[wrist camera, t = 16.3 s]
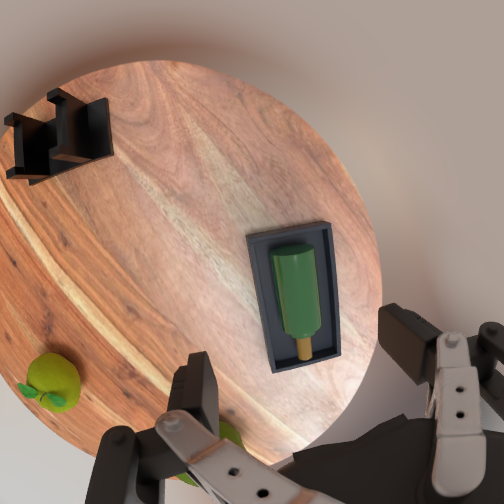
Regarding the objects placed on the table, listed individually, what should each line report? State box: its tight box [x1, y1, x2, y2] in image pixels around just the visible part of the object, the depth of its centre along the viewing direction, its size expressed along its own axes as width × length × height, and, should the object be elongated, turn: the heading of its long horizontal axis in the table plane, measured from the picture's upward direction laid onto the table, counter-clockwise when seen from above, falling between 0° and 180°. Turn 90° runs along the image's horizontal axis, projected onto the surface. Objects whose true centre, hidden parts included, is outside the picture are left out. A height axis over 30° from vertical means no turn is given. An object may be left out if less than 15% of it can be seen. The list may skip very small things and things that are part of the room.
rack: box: [4, 88, 114, 186], centre depth 25 cm, size 14×8×9 cm, turn 100°
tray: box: [246, 221, 341, 374], centre depth 36 cm, size 19×10×3 cm, turn 10°
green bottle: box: [270, 243, 322, 360], centre depth 34 cm, size 15×5×5 cm, turn 10°
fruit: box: [17, 353, 81, 413], centre depth 31 cm, size 9×9×10 cm
